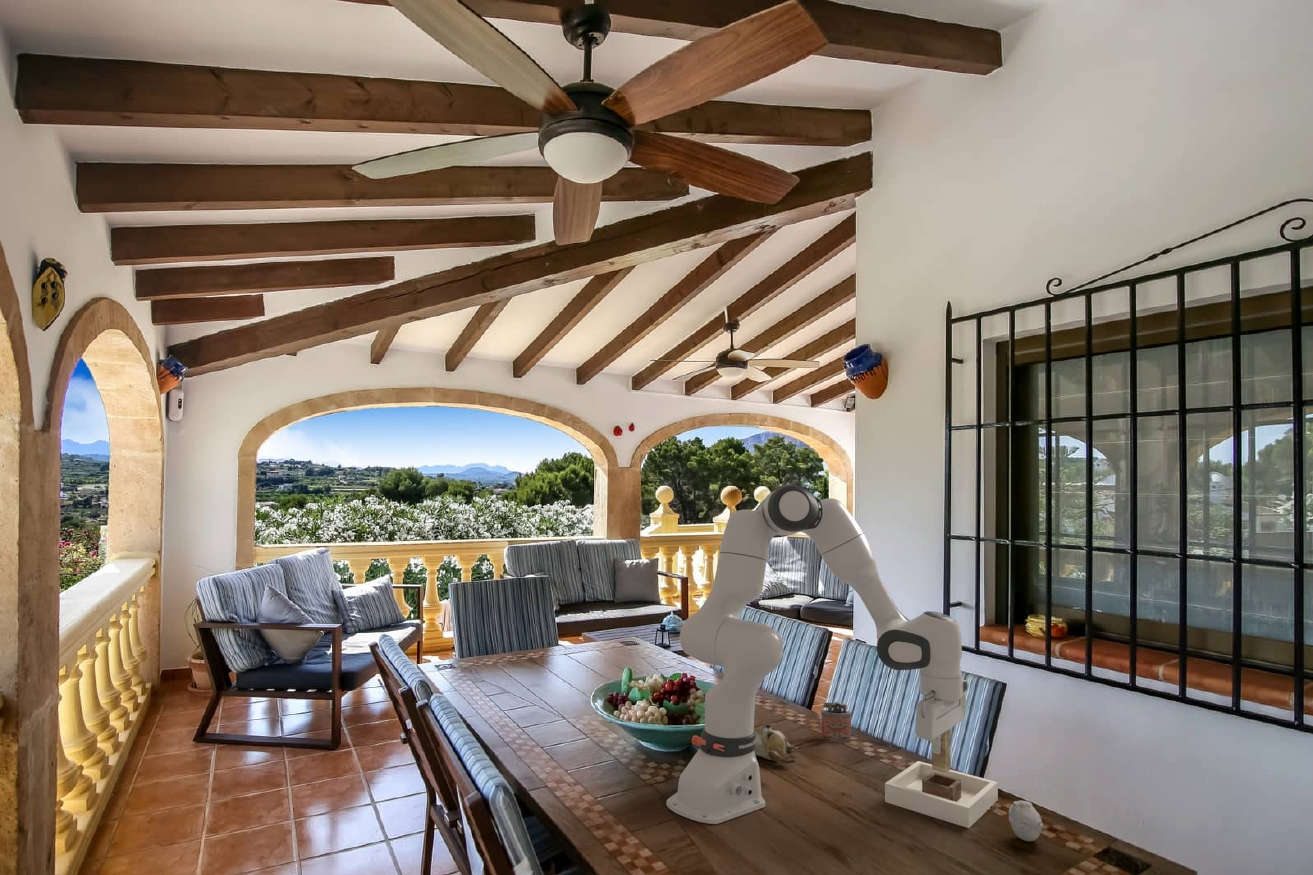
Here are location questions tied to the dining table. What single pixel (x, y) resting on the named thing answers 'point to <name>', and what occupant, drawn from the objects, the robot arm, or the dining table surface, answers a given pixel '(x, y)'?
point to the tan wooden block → (943, 754)
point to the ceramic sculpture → (774, 745)
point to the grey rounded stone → (1025, 820)
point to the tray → (942, 793)
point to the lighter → (836, 723)
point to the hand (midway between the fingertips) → (941, 750)
